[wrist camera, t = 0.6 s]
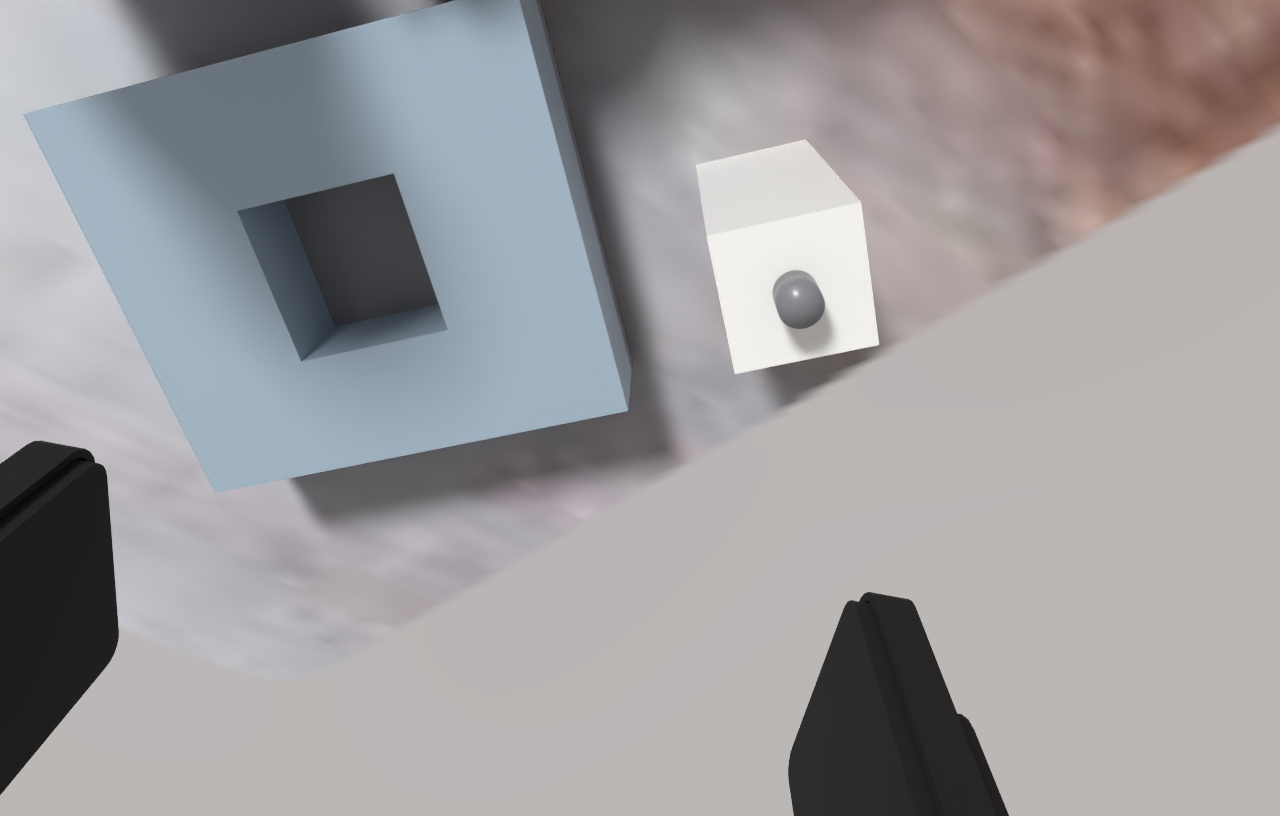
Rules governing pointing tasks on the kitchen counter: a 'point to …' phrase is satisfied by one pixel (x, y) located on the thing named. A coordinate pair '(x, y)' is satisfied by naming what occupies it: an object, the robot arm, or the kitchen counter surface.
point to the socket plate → (353, 242)
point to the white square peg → (787, 256)
